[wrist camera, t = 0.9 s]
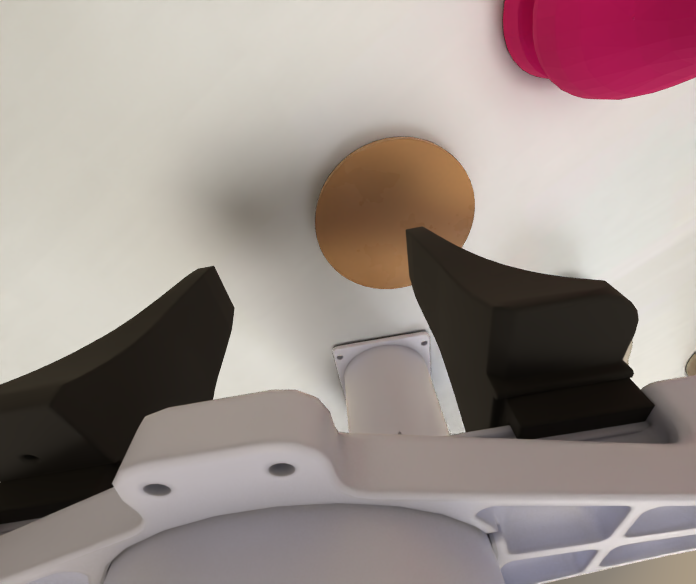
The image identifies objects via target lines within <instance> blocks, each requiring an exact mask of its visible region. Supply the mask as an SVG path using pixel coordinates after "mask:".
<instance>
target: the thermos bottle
mask: <svg viewBox="0 0 696 584" xmlns="http://www.w3.org/2000/svg"><path fill="white" fill-rule="evenodd" d="M686 373H687V375H688V376H692V375H696V353H695V354H694V355H693V356H692V357H691V359H690V361H689V362H688V364H687V367H686Z"/></svg>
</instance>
